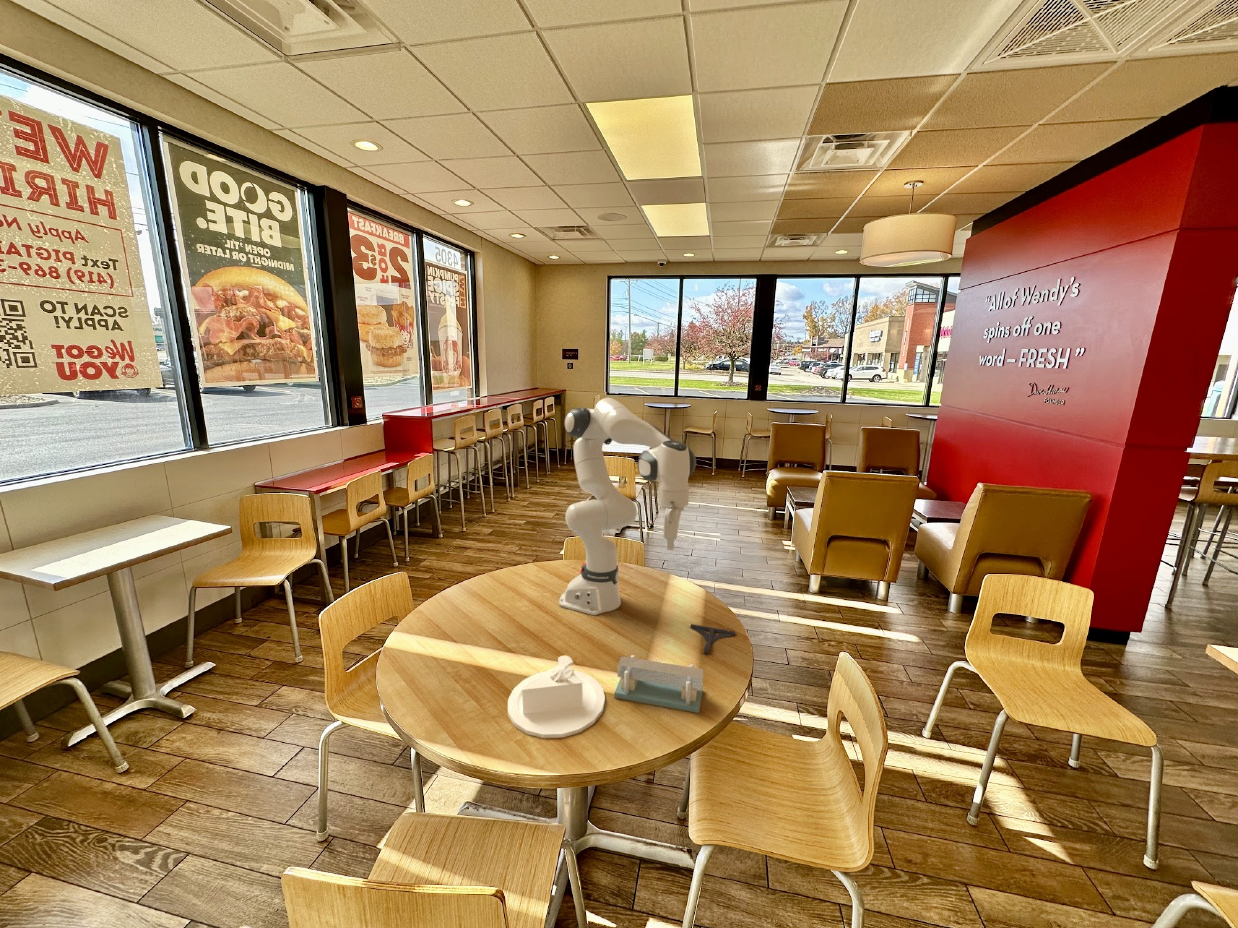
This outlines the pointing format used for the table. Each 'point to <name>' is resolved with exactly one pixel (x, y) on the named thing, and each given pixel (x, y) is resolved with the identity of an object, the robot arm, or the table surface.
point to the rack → (659, 693)
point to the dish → (556, 702)
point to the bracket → (711, 635)
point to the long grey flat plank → (660, 672)
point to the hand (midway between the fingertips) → (671, 543)
